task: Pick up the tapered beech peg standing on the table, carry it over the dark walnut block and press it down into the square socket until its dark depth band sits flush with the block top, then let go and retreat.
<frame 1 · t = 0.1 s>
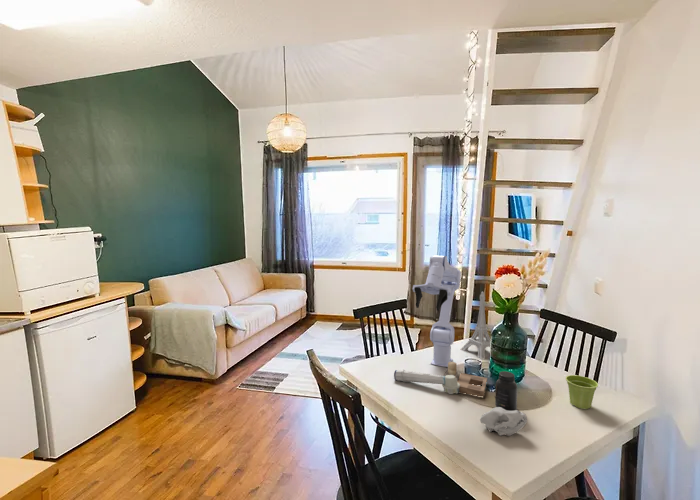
hand: (427, 307, 128), 32 cm above the table, tool tilted 50°, fingers open, 7 cm apart
gray mallet: (425, 386, 134), on the table, touching socket block
eiffel tower: (480, 352, 168), on the table
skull: (502, 432, 105), on the table
socket block: (471, 387, 132), on the table
supplement bottle: (505, 408, 118), on the table
peg: (451, 380, 138), on the table
plant pot: (580, 405, 120), on the table
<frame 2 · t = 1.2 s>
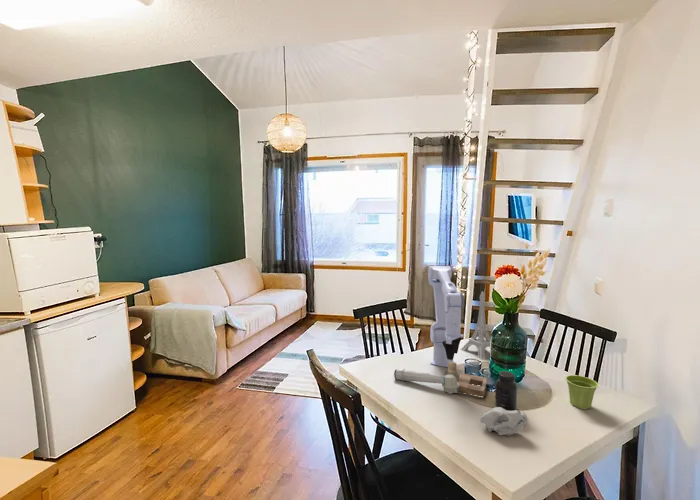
hand: (452, 356, 137), 10 cm above the table, tool pointing down, fingers open, 7 cm apart
nothing on the table moved.
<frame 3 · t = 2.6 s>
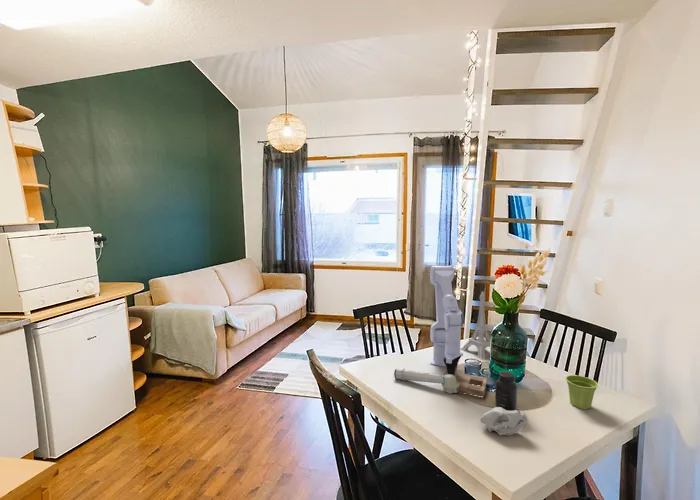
hand: (452, 374, 138), 3 cm above the table, tool pointing down, fingers closed on peg, 3 cm apart
peg: (451, 380, 138), on the table, touching gripper
everything else where it was.
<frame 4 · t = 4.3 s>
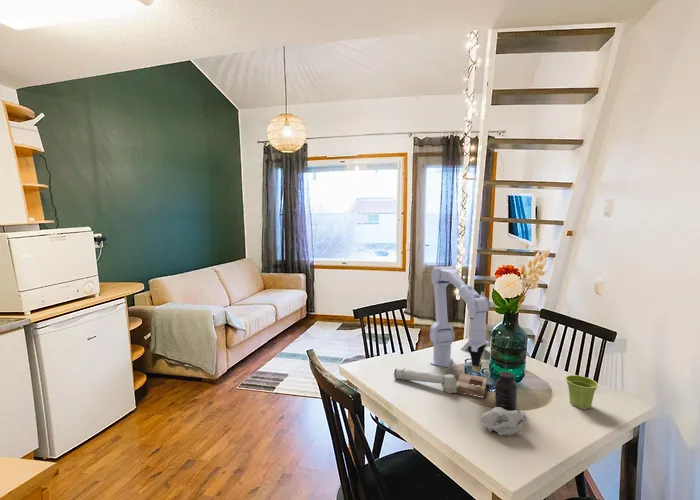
hand: (476, 363, 130), 10 cm above the table, tool pointing down, fingers closed on peg, 3 cm apart
peg: (476, 370, 131), point 7 cm above the table, touching gripper
everything else where it was.
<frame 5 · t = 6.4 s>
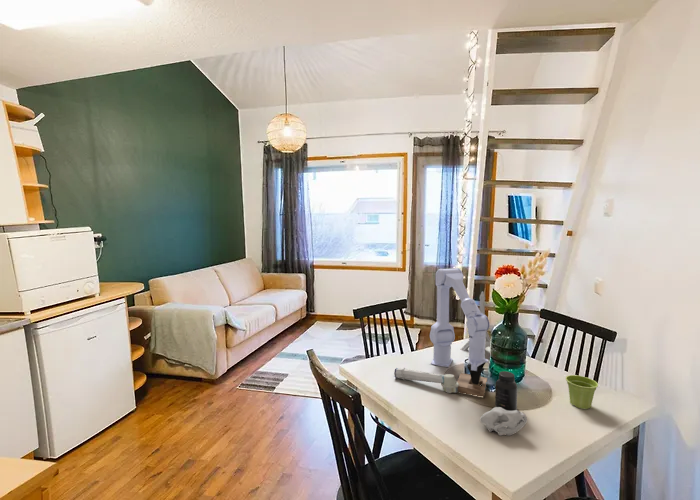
hand: (475, 381, 131), 3 cm above the table, tool pointing down, fingers closed on peg, 3 cm apart
peg: (475, 387, 131), resting in socket block, touching gripper
when the fingers open (3 cm above the table, at t = 6.7 s): peg stays where it is, resting in socket block.
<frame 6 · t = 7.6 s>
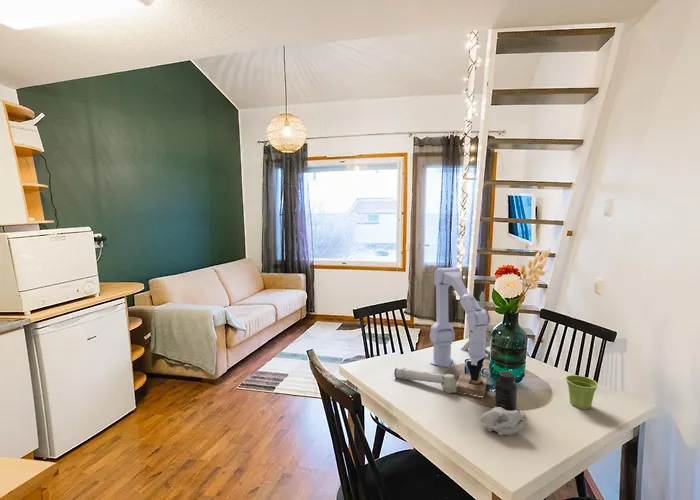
hand: (475, 376, 131), 5 cm above the table, tool pointing down, fingers open, 7 cm apart
peg: (475, 388, 131), resting in socket block
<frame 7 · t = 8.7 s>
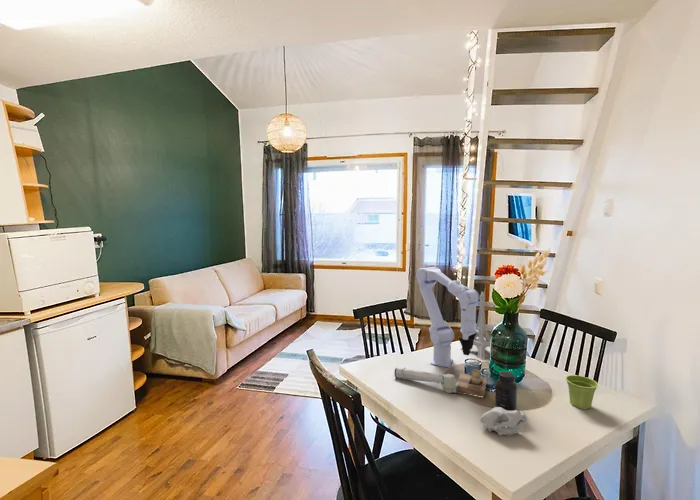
hand: (467, 351, 141), 10 cm above the table, tool pointing down, fingers open, 7 cm apart
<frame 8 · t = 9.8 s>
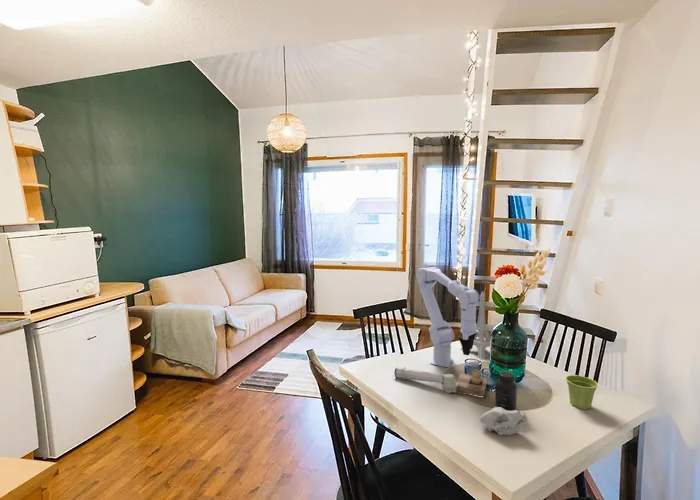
hand: (467, 351, 141), 10 cm above the table, tool pointing down, fingers open, 7 cm apart
at the end: peg 0.0 cm from the target spot on the socket block, point 0.0 cm above the socket block's base; peg tilted 0°; the gripper is holding nothing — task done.
